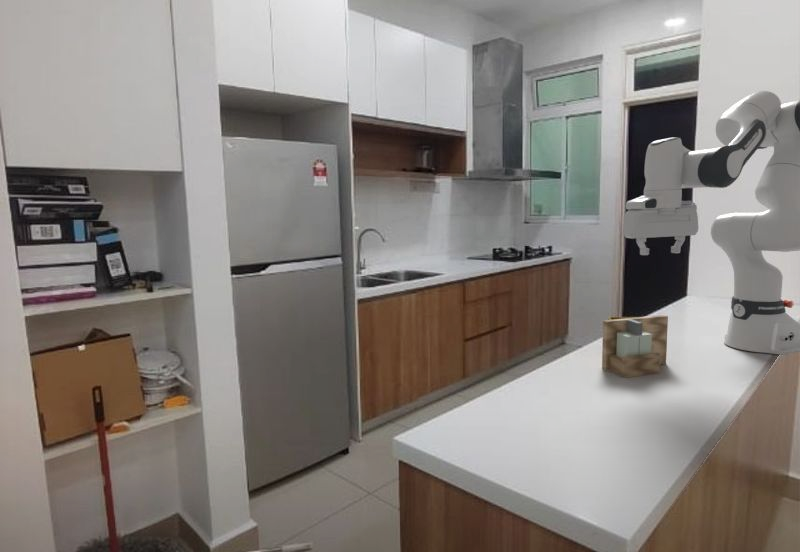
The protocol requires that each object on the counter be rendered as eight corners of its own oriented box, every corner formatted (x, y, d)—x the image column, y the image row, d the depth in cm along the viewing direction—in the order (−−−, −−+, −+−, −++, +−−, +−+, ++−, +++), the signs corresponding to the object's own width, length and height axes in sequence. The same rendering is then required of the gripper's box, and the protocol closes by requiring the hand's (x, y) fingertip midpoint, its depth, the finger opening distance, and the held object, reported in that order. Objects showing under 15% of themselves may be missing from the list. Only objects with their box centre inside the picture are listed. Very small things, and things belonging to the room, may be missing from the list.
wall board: (661, 361, 133) (663, 314, 131) (683, 370, 125) (685, 321, 123) (602, 368, 129) (603, 320, 127) (620, 378, 122) (621, 327, 120)
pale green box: (640, 352, 128) (641, 318, 127) (651, 357, 124) (652, 321, 123) (616, 355, 127) (617, 320, 126) (626, 360, 123) (627, 324, 122)
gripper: (687, 200, 134) (685, 251, 136) (620, 203, 130) (618, 255, 132) (705, 200, 128) (703, 252, 130) (636, 202, 124) (634, 257, 126)
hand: (660, 254), depth 131 cm, fingers open, 8 cm apart
